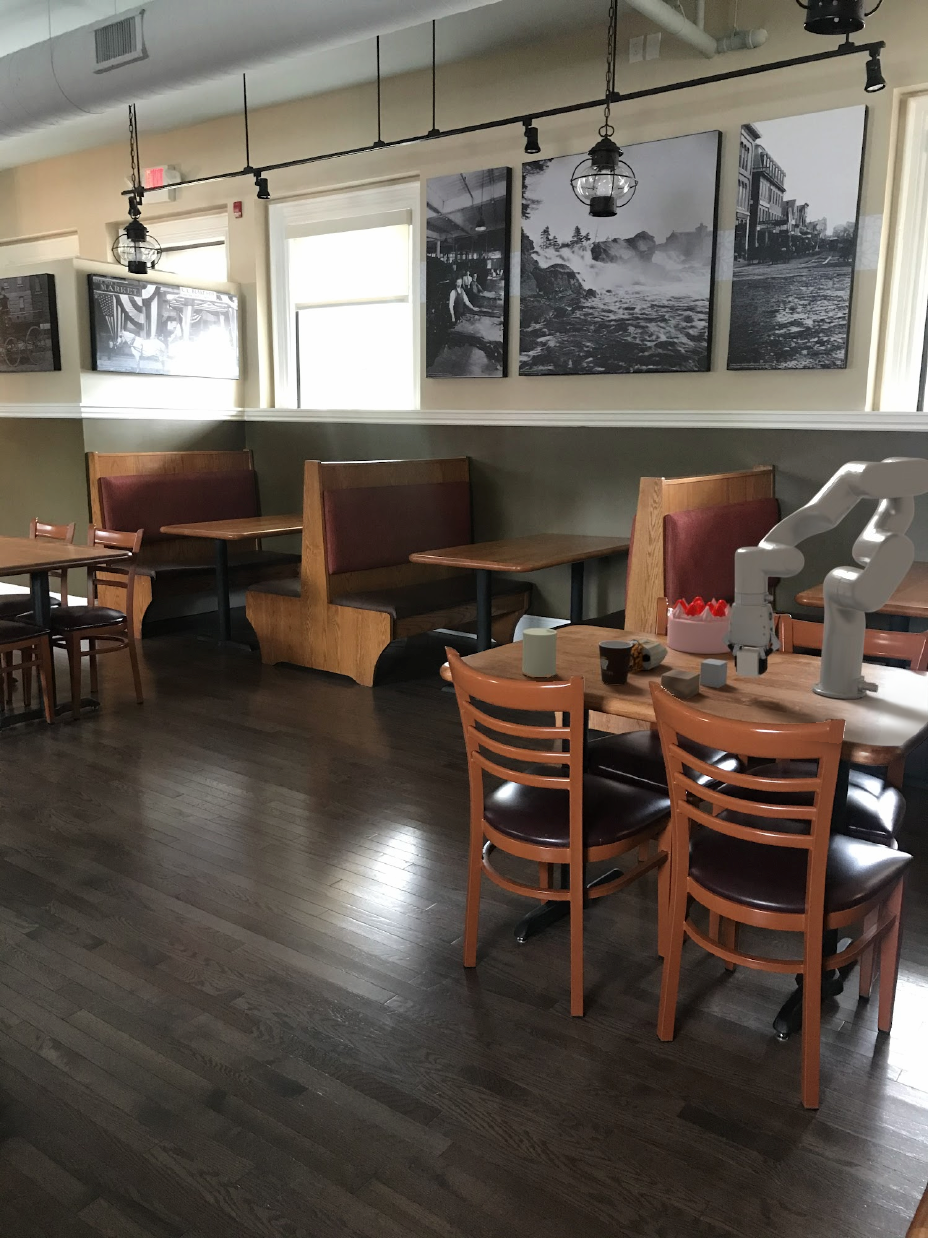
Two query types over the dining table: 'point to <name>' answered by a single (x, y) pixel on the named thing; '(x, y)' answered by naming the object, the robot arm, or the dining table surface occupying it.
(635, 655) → the nautilus
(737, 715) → the dining table surface
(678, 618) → the cake
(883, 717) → the dining table surface
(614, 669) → the coffee mug
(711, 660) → the grey block
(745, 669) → the ceramic block
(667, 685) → the metal block
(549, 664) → the can
